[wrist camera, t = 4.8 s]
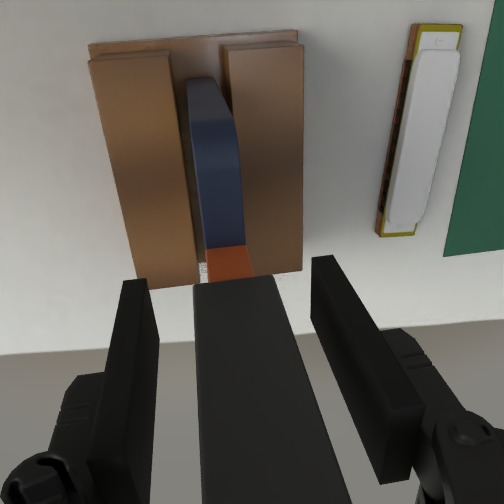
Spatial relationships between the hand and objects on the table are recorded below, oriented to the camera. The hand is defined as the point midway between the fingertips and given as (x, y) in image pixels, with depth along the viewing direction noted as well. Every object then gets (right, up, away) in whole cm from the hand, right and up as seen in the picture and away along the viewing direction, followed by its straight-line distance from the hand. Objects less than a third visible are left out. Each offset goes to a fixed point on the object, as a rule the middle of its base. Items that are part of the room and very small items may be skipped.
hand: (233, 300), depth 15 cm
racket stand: (-2, +8, +14) cm, 16 cm away
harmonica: (+12, +10, +16) cm, 22 cm away
